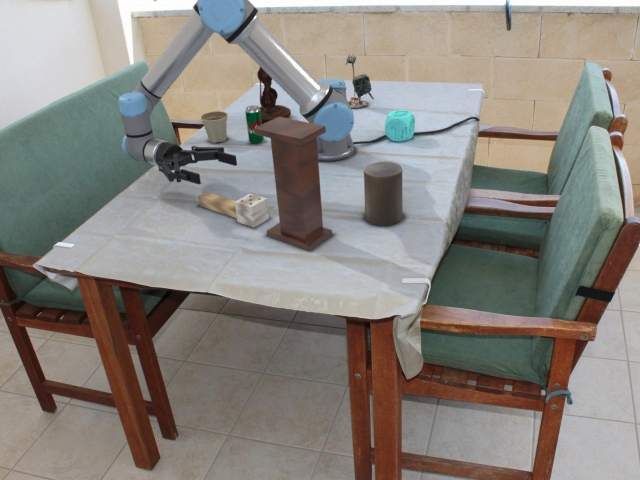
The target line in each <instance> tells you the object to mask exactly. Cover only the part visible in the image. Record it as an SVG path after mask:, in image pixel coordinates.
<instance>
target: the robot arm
mask: <svg viewBox="0 0 640 480" xmlns="http://www.w3.org/2000/svg"><path fill="white" fill-rule="evenodd" d="M215 33H216V34H218V35H219V36H220V37H221V38H222V39H223V40H225V42H227V44H229V45H237V46H239V48H240V49H242V50H243V52H245V54H247V55H248V57H250V58H251V59H252V61H254V62H255V63H256V64H257V65H258V66H259V68H260V67H261V68H262V69H263V70H264V71H265V72H266V73H267V74H268V75H269V76H270V77H271V78H272V81H274V82H275V83H276V84H277V85H278V86H279V87H280V89H282V90H283V91H284V92H285V93H286V94H287V95H288V96H289V97H290V98H291V99H292V100H293V101H294V102H295V103H296V104H297V105H298V106H299V114H300V115H301V116H302V117H303V118H304V119H305V120H306V122H308V123H313V124H318V125H322V126H326V132H325V133H324V134H322V135H320V136H318V137H317V149H318V162H319V161H320V162H334V161H341V160H344V159H347V158H349V157H351V156H352V155H353V154H354V153H355V145H364V144H366V145H367V144H373V143H377V142H378V141H381V140H383V139H385V138H388V137H387V136H386V134H384V135H381V136H379V137H377V138H374V139H371V140H360V141H353V138H352V135H351V132H352V130H353V128H354V123H355V116H354V112H353V110H352V107H351V108H350V106H349V103H348V102H349V101H348V99H347V98H348V97H347V85H346V82H345V80H343V79H341V78H325V79H323V78H322V79H317V78H316V77H315V76H314V75H313V74H312V72H311V71H309V69H307V67H305V65H304V64H302V62H300V60H299V59H298V58H297V57H296V56H295V55H294V54H293V53H292V52H291V51H290V50H289V49H288V48H287V47H286V46H285V45H284V44H283V43H282V42H281V41H280V40H279V39H278V38H277V37H276V36H275V34H273V33H272V31H271V30H269V28H268V27H267V26H266V25H265V24H264V23H263V22H262V21H261V20H260V11H259V9H258V8H256V7H255V6H254V4H253V3H252V2H251V1H250V0H197V1H196V2H195V4H194V5H193V6H192V14H191V15H190V16H189V18H187V20H186V22H185V23H184V24H183V25H182V26H181V27H180V29H179V31H178V32H177V33H176V35H175V36H174V37H173V38H172V40H171V41H170V42H169V43H168V45H167V46H166V47H165V49H164V50H163V51H162V52H161V54H160V55H159V56H158V58H157V59H156V60H155V61H154V63H153V64H152V65H151V67H149V69H148V71H147V72H146V73H145V74H144V76H143V77H142V78H141V80H140V81H139V82H138V84H137V85H136V86H135V87H134V88H132V90H131V91H130V92H126V93H123V94H122V95H120V96H119V97H118V101H117V102H118V107H119V108H118V109H119V113H120V115H121V119H122V124H123V129H124V131H125V135H124V136H123V138H122V140H121V150H122V153H123V154H124V155H125V156H126V157H128V158H130V159H132V160H133V161H136V162H142V163H146V164H149V165H153V166H155V167H158V171H159V172H161V173H163V175H164V176H165V178H166V179H167V181H168V182H169V183H173V182H174V181H176V183H178V184H179V183H181V182H182V181H183V182H184V181H185V182H189V183H192V184H196V185H201V184H202V183H201V176H200V173H198V172H195V171H191V170H187V169H185V168H181V167H185V166H187V165H190V164H197V163H198V162H205V161H206V162H207V161H218V162H220V163H222V164H227V165H230V166H234V167H235V166H238V160H237V155H235V154H232V153H231V154H230V153H228V152H225V148H224V146H198V145H197V146H196V145H192V146H191V147H190V148H191V149H190V150H188V149H184V148H182V147H181V146H180V145H179V144H178V143H174V142H170V141H167V140H163V139H159V138H156V137H154V132H153V128H152V127H153V126H152V122H151V115H152V113H153V110H154V109H155V107H156V106H157V104H158V103H159V102H160V101H161V100H162V98H163V97H164V95H165V94H166V93H167V92H168V90H169V89H170V88H171V87H172V86H173V84H174V83H175V82H176V81H177V79H178V78H179V77H180V75H181V74H182V73H183V72H184V70H185V69H186V68H187V67H188V66H189V65H190V63H192V61H193V59H194V58H195V57H196V56H197V55H198V53H199V52H200V51H201V50H202V48H203V47H204V46H205V45H206V43H207V42H208V41H209V40H210V38H211V37H212V36H213V35H214V34H215ZM470 120H475V121H478V122H479V121H481V120H480V118H479V117H477V116H469V117H467V118H465V119H462V120H461V121H458V122H455V123H453V124H451V125H449V126H447V127H444V128H441V129H436V130H429V131H428V130H427V131H419V132H418V131H417V132H414V134H413V136H421V135H430V134H437V133H443V132H446V131H448V130H451V129H452V128H454V127H456V126H459V125H462V124H464V123H466V122H468V121H470Z"/></svg>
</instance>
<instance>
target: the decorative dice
mask: <svg viewBox="0 0 640 480" xmlns="http://www.w3.org/2000/svg"><path fill="white" fill-rule="evenodd" d="M415 128H416V118H415V115H414V113H412V111H409V110H404V109H397V110H392V111H390V112H389V113H387V114H386V119H385V124H384V133H385V134H384V135H386V136H387V137H386V138H388V140H389V141H391V142H392V141H393V142H407V141H410V140H411V139H413V137H414V135H413V134H414V133H415Z"/></svg>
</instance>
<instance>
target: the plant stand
mask: <svg viewBox="0 0 640 480" xmlns="http://www.w3.org/2000/svg"><path fill="white" fill-rule="evenodd" d="M325 132H326V126H322V125H318V124H313V123H309V122H308V121H303V120H298V119H292V118H290V117H288V118H284V117H277V118H275V119H273V120H271V121H268V122H263V123H262V125H260V126H258V127H256V128H254V134H255V135H259V136H263V137H264V138H268V139H270V146H271V155H272V165H273V172H274V182H275V191H276V192H275V193H276V200H277V201H276V202H277V209H278V220H279V222H278V223H277V224H275V225H273V226H272V227H270V228H269V229H267V230H266V237H269V238H272V239H274V240H276V241H277V240H278V241H281V242H283V243H286V244H289V245H292V246H295V247H297V248H301V249H303V250H306V251H310V252H311V251H312V250H314V249H315V248H316V247H318V246H319V245H321V244H322V243H323V242H325V241H326V240H328V239H329V238H331V237H332V236H333V229H330V228H327V227H324V223H323V222H324V221H323V220H324V219H323V208H322V207H323V206H322V194H321V193H322V192H321V179H320V166H319V160H318V149H317V137H318V136H320V135H322V134H324V133H325Z"/></svg>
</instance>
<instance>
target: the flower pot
mask: <svg viewBox="0 0 640 480" xmlns="http://www.w3.org/2000/svg"><path fill="white" fill-rule="evenodd" d="M228 117H229V114H228V112H226V111H223V110H222V111H221V110H215V111H208V112H205V113H203V114H202V115H200V117H199V119H200V120H201V122H202V124H203V126H204V130H205V133H206V136H207V139H208V142H210V143H213V144H217V143H223V142H225V141H226V140H227V139H228V135H227V134H228V132H227V131H228V130H227V129H228V125H227V124H228V123H227V121H228Z"/></svg>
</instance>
